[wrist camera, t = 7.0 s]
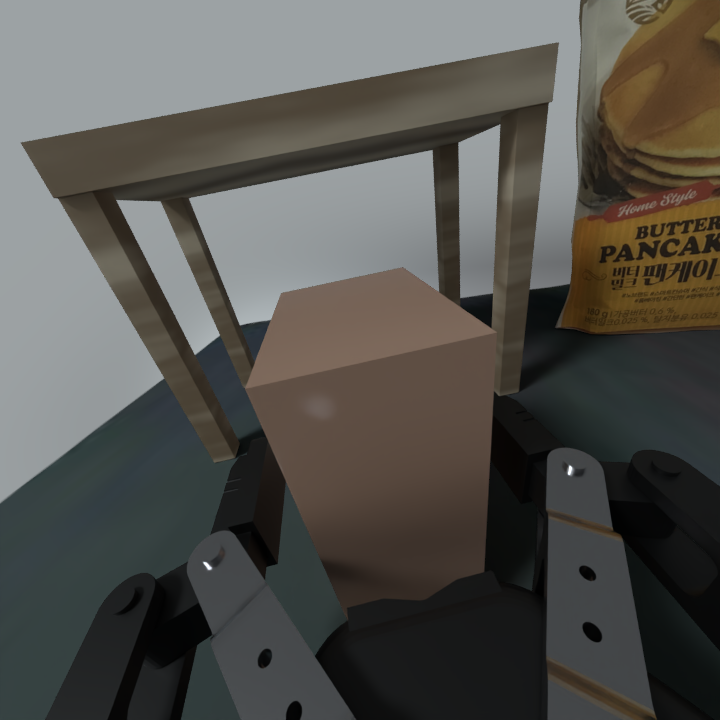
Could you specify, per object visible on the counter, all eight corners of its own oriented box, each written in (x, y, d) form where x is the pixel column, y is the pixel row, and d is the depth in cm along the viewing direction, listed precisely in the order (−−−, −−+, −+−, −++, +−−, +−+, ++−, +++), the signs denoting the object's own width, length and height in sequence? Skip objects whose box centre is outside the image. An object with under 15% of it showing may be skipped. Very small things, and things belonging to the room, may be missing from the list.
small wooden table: (520, 393, 22) (558, 42, 13) (213, 465, 21) (20, 142, 12) (453, 332, 32) (448, 115, 23) (247, 378, 32) (158, 172, 22)
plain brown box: (482, 610, 12) (496, 332, 6) (357, 642, 11) (245, 388, 6) (423, 469, 18) (402, 267, 12) (342, 489, 17) (281, 293, 12)
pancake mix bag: (528, 313, 33) (569, -73, 20) (753, 297, 28) (1015, -247, 15) (546, 340, 28) (620, -172, 14) (831, 326, 22) (1374, -512, 9)
